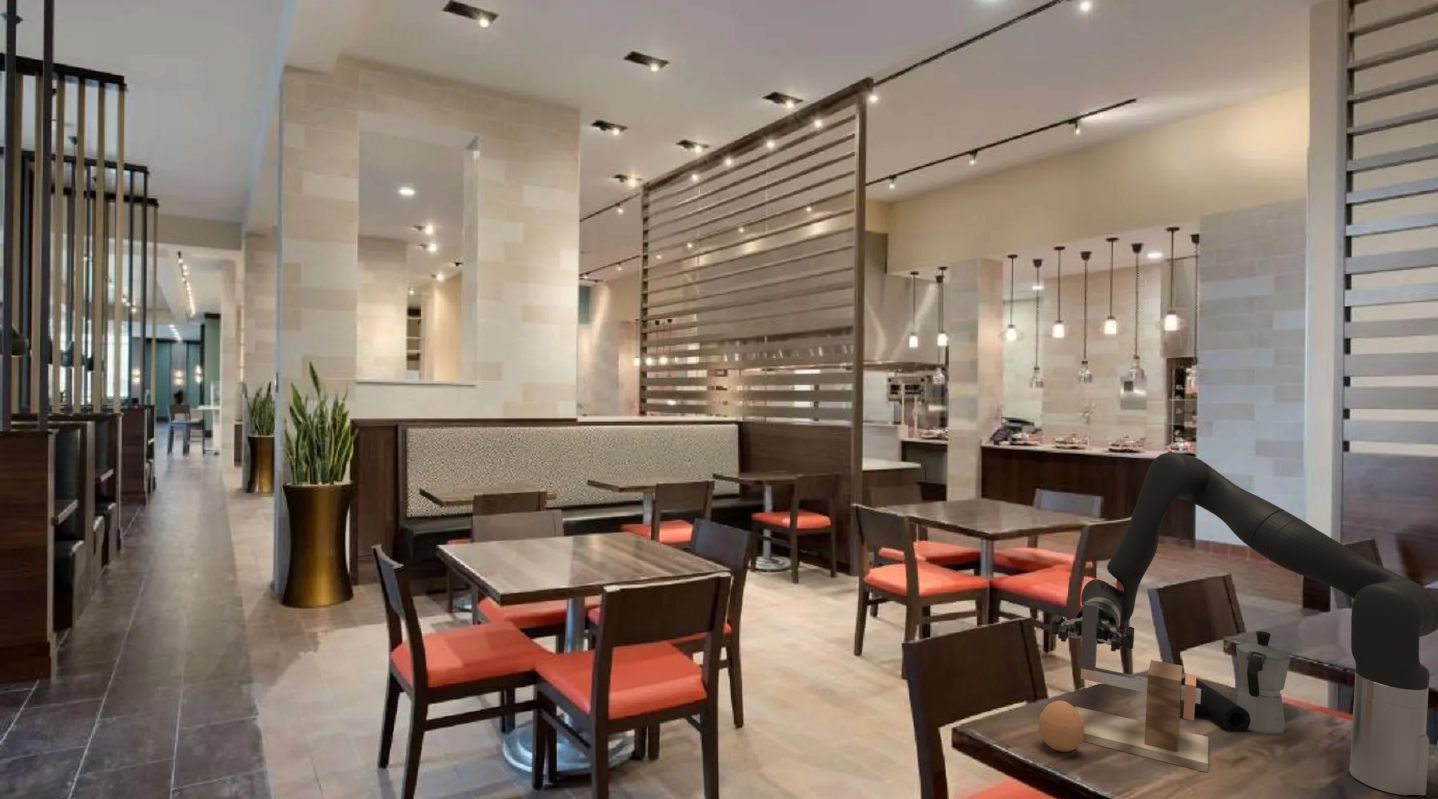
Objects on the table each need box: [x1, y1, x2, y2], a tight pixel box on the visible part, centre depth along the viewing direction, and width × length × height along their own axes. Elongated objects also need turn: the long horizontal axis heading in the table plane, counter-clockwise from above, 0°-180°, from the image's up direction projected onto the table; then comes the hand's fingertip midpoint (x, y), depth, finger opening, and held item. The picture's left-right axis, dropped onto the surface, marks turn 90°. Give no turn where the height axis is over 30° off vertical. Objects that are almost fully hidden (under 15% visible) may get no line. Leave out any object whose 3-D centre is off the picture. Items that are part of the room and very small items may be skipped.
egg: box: [1038, 700, 1084, 753], centre depth 138 cm, size 7×7×8 cm
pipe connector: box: [1180, 676, 1250, 733], centre depth 156 cm, size 12×5×15 cm
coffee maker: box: [1235, 630, 1291, 736], centre depth 150 cm, size 15×9×18 cm, turn 135°
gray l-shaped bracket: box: [1079, 601, 1201, 704], centre depth 142 cm, size 19×2×14 cm, turn 58°
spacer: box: [1182, 672, 1197, 721], centre depth 138 cm, size 2×6×6 cm, turn 148°
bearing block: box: [1074, 659, 1209, 773], centre depth 143 cm, size 22×12×14 cm, turn 58°
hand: (1087, 641), depth 145 cm, fingers open, 8 cm apart
